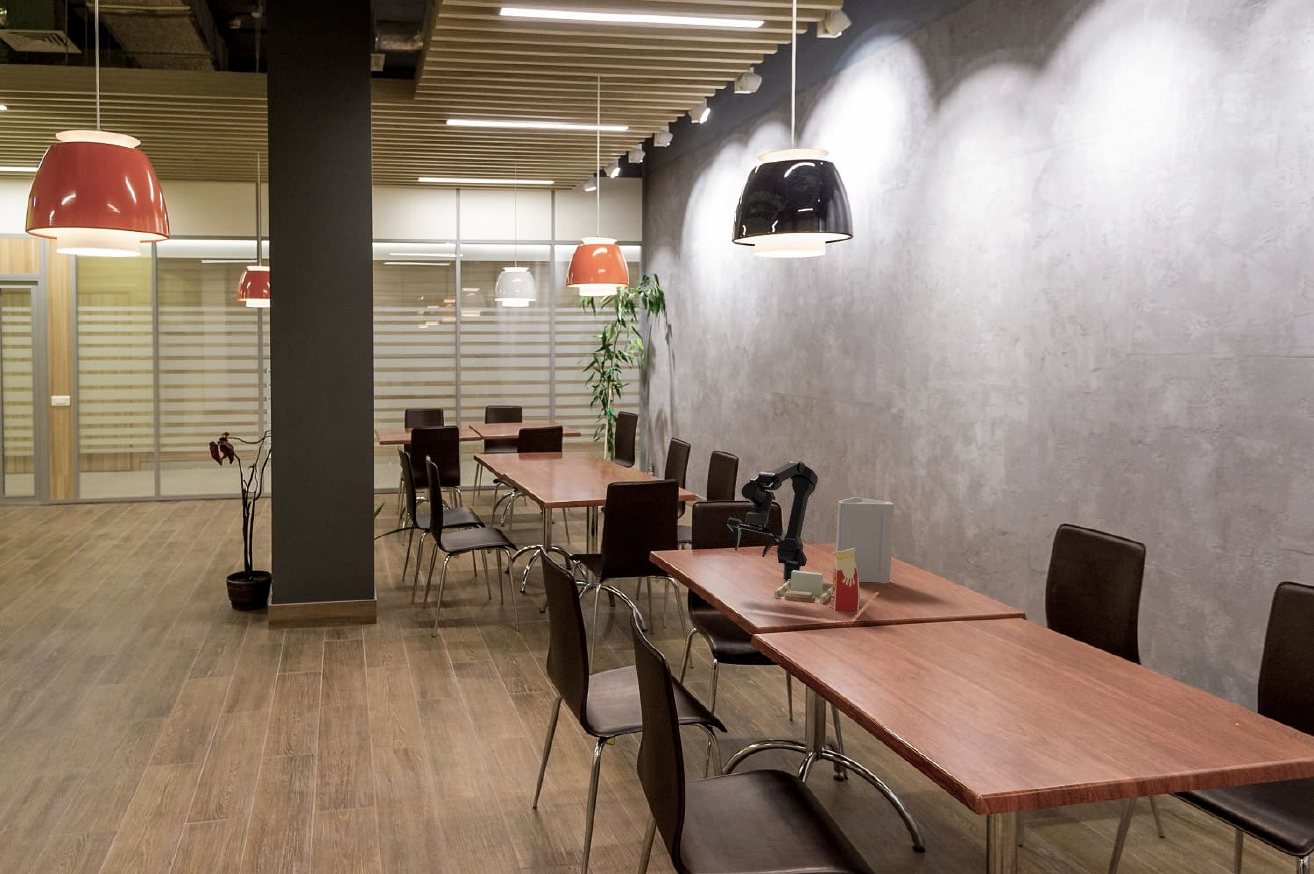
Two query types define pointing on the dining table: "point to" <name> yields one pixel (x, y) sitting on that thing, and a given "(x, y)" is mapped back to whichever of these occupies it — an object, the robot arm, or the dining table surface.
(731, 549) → the dining table surface
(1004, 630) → the dining table surface
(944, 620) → the dining table surface
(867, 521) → the grey tall prism
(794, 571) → the sheet
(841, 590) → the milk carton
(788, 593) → the offcut
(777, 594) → the rack
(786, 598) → the offcut
